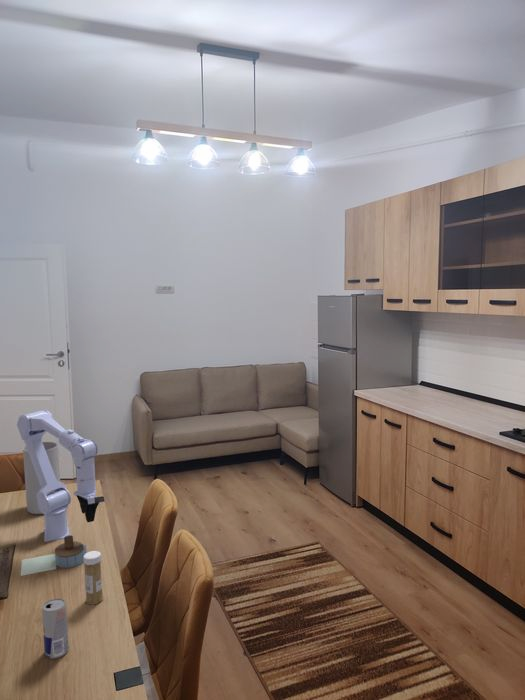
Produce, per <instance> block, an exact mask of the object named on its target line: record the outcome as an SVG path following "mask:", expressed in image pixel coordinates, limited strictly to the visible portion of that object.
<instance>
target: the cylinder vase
mask: <svg viewBox="0 0 525 700" xmlns="http://www.w3.org/2000/svg"><path fill="white" fill-rule="evenodd" d="M42 443H43V445H44V448H45V451H46V453H47V456H48V459H49V461H50V464H51V467H52V469H53V472H54V475H55V477H56V480H57V481H58V482H61V471H60V470H61V469H60V457H59V455H60V453H59V444H58V443H57V442H55V441H42ZM22 455H23V456H22V457H23V469H24V471H23V472H24V483H25V484H24V486H25V500H26V510H27V512H28V513H30V514H31V515H43V514H42V513H41V512H40V510H39V508H38V501H37V497H36V495H37V493H38V492H39V490H40V488H41V485H40V482H39V480H38V477H37V474H36V471H35V469H34V466H33V463H32V461H31V458H30V455H29V453H28V450H27V447H26V445H25V446H23V447H22ZM53 492H55V491H51V492H49V493H47V495H48V494H50V493H53Z"/></svg>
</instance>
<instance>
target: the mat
mask: <svg viewBox="0 0 525 700" xmlns="http://www.w3.org/2000/svg"><path fill="white" fill-rule="evenodd" d="M20 565H21V567H20V568H21V569H20V577H22V576H28V575H32V574H33V575H34V574H37V573H43V572H48V571H52V570H56V569H57V565H56V559H55V553H51V554H47V555H46V554H45V555H40V556H36V557H31V558H30V557H29V558H25V559H21V564H20Z"/></svg>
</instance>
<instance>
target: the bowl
mask: <svg viewBox="0 0 525 700" xmlns="http://www.w3.org/2000/svg"><path fill="white" fill-rule="evenodd" d="M82 544H83V550H82V551H81V552H80V553H79V554H77V555H74V556H70V557H59V556H57V555H56V554H55V553H54V554H55V559H56V567H57V566H58V568H65V569H66V568H67V569H68V568H73V567H77V566H80V565H82V564H84V558H83V557H84V555H85V554H86V553H88V551H87V545H86V544H84V543H82Z"/></svg>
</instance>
